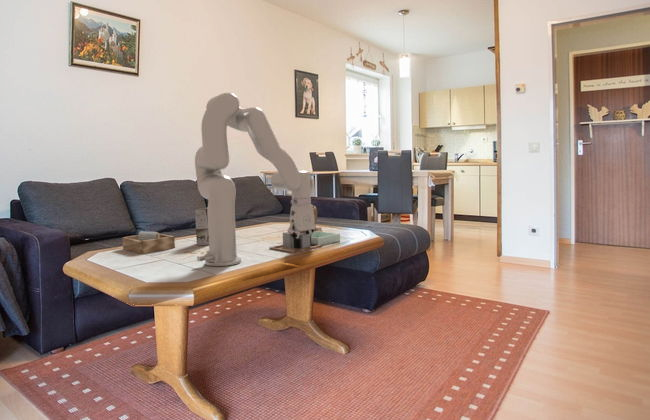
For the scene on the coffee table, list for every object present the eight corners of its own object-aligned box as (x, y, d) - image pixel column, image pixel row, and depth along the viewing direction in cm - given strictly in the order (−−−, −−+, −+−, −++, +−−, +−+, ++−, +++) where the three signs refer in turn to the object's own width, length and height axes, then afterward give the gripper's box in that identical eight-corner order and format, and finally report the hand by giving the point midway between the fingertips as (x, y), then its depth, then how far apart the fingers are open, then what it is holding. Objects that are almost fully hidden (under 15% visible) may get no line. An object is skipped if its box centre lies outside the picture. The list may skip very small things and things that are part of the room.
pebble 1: (290, 248, 178) (289, 233, 178) (283, 247, 181) (282, 232, 181) (298, 246, 181) (297, 232, 181) (290, 245, 184) (290, 231, 184)
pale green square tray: (318, 247, 182) (317, 238, 182) (295, 244, 192) (294, 235, 192) (340, 242, 193) (339, 233, 192) (317, 239, 202) (316, 230, 202)
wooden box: (140, 253, 178) (139, 241, 177) (122, 248, 189) (121, 237, 189) (175, 247, 189) (175, 236, 188) (156, 243, 201) (156, 232, 200)
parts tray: (293, 255, 168) (292, 251, 168) (269, 251, 178) (269, 247, 177) (321, 248, 180) (321, 245, 180) (298, 245, 189) (297, 241, 189)
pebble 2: (302, 250, 173) (302, 235, 173) (294, 249, 176) (294, 234, 176) (310, 248, 177) (310, 233, 176) (302, 247, 180) (302, 232, 179)
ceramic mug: (158, 249, 186) (157, 231, 185) (138, 250, 184) (137, 232, 183) (161, 245, 196) (161, 228, 196) (142, 246, 194) (141, 229, 194)
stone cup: (299, 239, 204) (298, 207, 203) (290, 235, 215) (289, 205, 213) (328, 236, 210) (328, 205, 209) (319, 233, 221) (318, 203, 219)
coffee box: (210, 245, 194) (208, 208, 192) (196, 245, 194) (194, 209, 192) (216, 241, 203) (214, 206, 201) (202, 241, 203) (200, 207, 201)
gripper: (292, 204, 166) (293, 251, 168) (323, 200, 178) (323, 244, 180) (278, 203, 171) (280, 249, 173) (309, 200, 183) (311, 242, 185)
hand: (302, 246), depth 176 cm, fingers open, 5 cm apart
